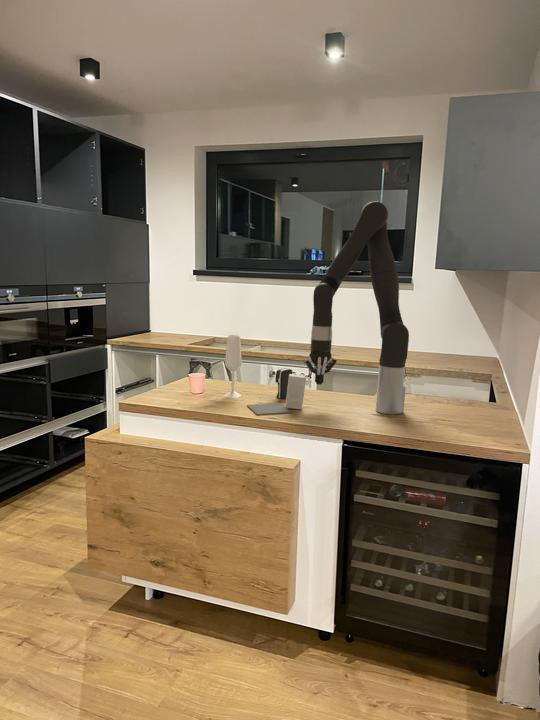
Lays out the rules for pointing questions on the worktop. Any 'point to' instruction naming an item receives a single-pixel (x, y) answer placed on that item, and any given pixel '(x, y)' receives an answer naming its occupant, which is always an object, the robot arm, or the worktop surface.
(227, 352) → the champagne flute
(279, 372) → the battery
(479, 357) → the worktop surface
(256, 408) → the mat
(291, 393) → the skincare box
